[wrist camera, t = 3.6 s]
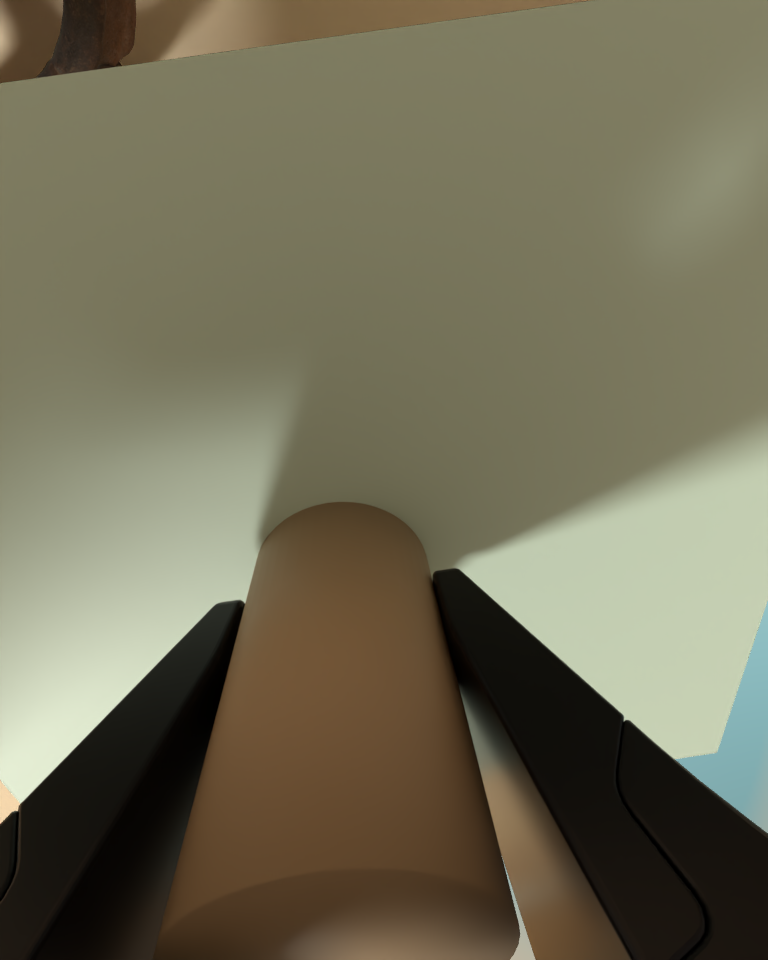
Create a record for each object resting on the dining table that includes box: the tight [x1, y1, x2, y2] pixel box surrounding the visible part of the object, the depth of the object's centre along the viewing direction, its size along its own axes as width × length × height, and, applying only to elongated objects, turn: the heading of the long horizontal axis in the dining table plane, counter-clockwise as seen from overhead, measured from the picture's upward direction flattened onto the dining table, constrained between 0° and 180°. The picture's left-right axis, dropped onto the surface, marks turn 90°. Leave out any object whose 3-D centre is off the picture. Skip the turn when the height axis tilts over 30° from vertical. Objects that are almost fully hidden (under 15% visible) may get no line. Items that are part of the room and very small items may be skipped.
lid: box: [0, 0, 768, 960], centre depth 7 cm, size 14×16×8 cm
